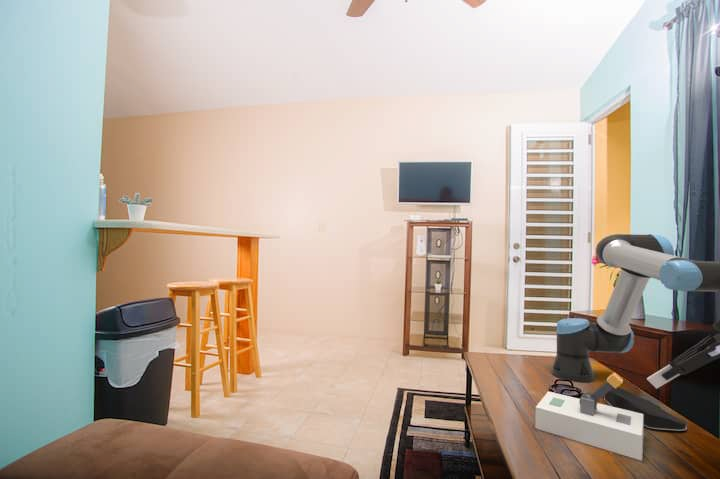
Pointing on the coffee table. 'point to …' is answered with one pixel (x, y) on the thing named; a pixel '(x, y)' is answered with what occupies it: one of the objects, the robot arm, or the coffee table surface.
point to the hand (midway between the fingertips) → (651, 383)
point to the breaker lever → (604, 388)
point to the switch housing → (592, 423)
